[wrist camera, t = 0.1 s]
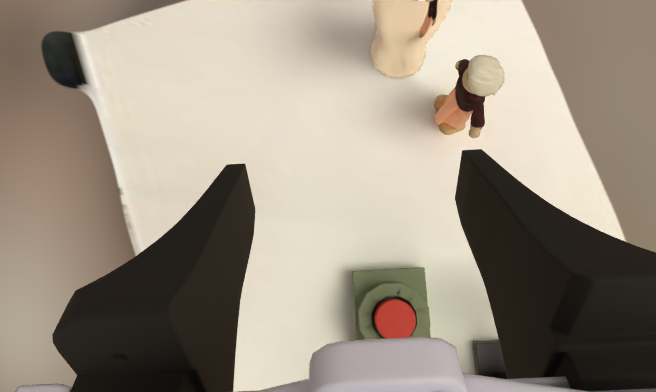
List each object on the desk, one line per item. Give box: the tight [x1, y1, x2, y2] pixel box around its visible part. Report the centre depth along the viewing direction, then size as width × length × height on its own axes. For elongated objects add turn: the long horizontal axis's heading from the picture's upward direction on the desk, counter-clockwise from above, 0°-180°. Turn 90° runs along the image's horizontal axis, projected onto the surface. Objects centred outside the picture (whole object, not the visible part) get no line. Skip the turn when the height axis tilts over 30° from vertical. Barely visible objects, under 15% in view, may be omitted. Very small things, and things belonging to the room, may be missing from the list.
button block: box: [352, 268, 430, 340], centre depth 44 cm, size 9×7×4 cm
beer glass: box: [370, 0, 453, 78], centre depth 43 cm, size 7×7×15 cm
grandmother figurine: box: [434, 55, 504, 138], centre depth 42 cm, size 8×4×13 cm, turn 19°
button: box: [374, 299, 416, 339], centre depth 41 cm, size 4×4×2 cm
